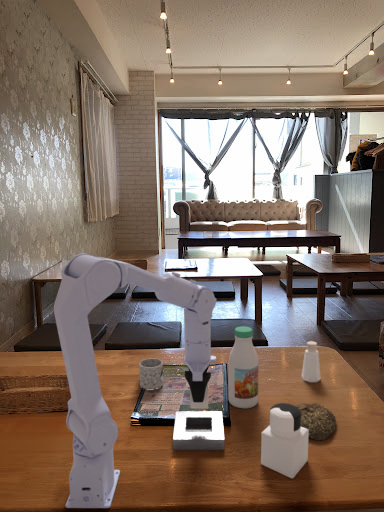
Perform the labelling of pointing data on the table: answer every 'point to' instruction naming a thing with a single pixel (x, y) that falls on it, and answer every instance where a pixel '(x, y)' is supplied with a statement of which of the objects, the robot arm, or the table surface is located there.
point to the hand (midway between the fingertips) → (198, 396)
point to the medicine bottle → (284, 441)
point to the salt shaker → (311, 363)
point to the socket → (198, 430)
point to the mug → (151, 373)
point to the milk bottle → (243, 370)
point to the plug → (199, 404)
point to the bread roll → (317, 420)
